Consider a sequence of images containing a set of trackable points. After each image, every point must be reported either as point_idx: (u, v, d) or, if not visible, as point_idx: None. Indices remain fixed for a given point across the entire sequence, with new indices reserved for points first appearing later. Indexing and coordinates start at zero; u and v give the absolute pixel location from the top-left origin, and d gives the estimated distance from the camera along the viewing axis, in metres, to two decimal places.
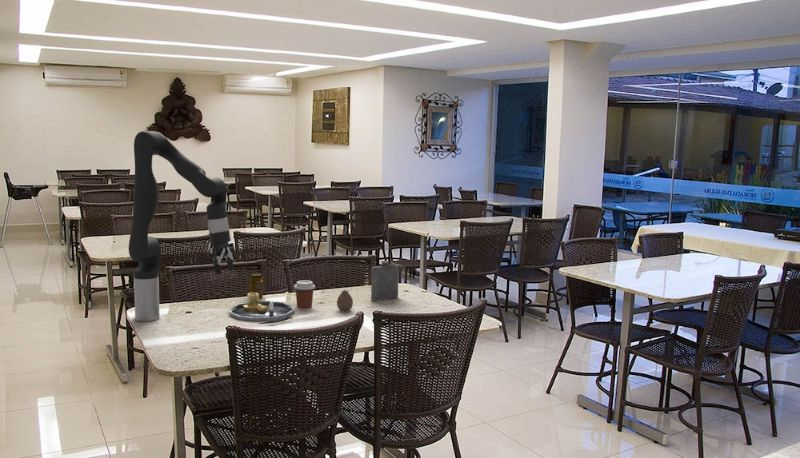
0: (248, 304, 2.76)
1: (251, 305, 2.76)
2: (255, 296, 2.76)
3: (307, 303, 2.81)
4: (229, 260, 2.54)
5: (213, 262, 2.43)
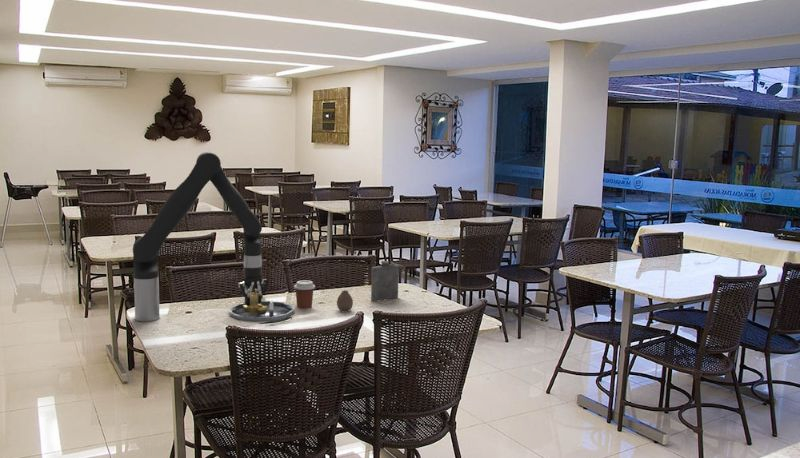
0: None
1: (251, 305, 2.76)
2: (255, 296, 2.76)
3: (307, 303, 2.81)
4: None
5: (242, 295, 2.73)
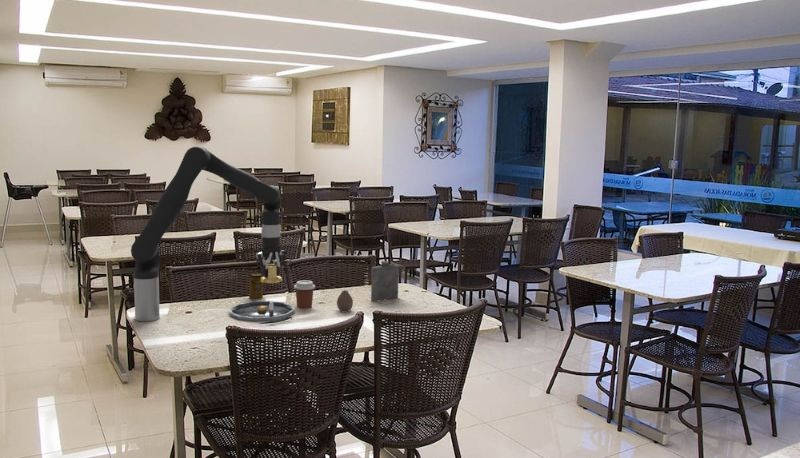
0: None
1: (269, 277, 2.64)
2: (273, 267, 2.64)
3: (307, 303, 2.81)
4: None
5: (260, 266, 2.61)
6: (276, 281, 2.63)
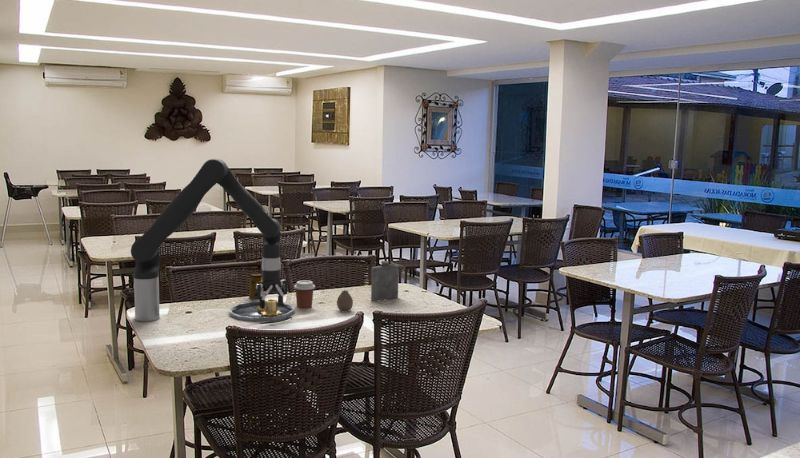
0: (266, 311, 2.66)
1: (269, 312, 2.66)
2: (273, 303, 2.66)
3: (307, 303, 2.81)
4: (279, 296, 2.70)
5: (256, 297, 2.62)
6: None
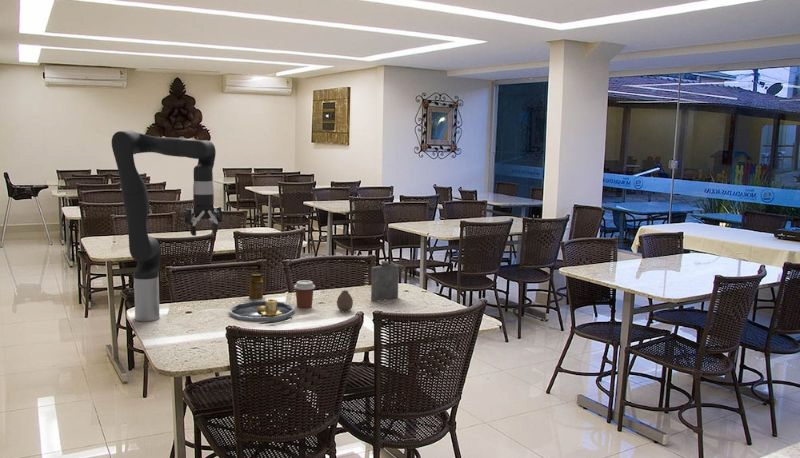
0: (266, 311, 2.66)
1: (269, 312, 2.66)
2: (273, 303, 2.66)
3: (307, 303, 2.81)
4: (213, 223, 2.55)
5: (187, 223, 2.47)
6: None
